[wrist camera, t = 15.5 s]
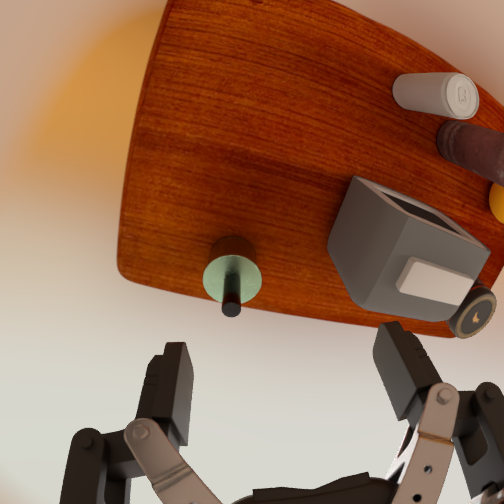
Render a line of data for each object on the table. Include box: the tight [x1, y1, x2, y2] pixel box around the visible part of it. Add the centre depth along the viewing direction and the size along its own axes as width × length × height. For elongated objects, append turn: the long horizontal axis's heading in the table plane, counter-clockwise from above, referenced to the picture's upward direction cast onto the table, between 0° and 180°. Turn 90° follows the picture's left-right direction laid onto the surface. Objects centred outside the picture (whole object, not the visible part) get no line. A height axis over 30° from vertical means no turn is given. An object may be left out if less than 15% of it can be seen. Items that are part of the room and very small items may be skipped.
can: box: [437, 120, 504, 187], centre depth 28 cm, size 6×6×14 cm
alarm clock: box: [327, 175, 491, 322], centre depth 34 cm, size 16×11×16 cm
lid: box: [203, 253, 262, 317], centre depth 35 cm, size 7×7×7 cm
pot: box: [208, 236, 256, 263], centre depth 39 cm, size 6×6×5 cm
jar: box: [445, 277, 496, 339], centre depth 43 cm, size 10×10×8 cm
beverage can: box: [392, 73, 479, 119], centre depth 26 cm, size 5×5×12 cm
